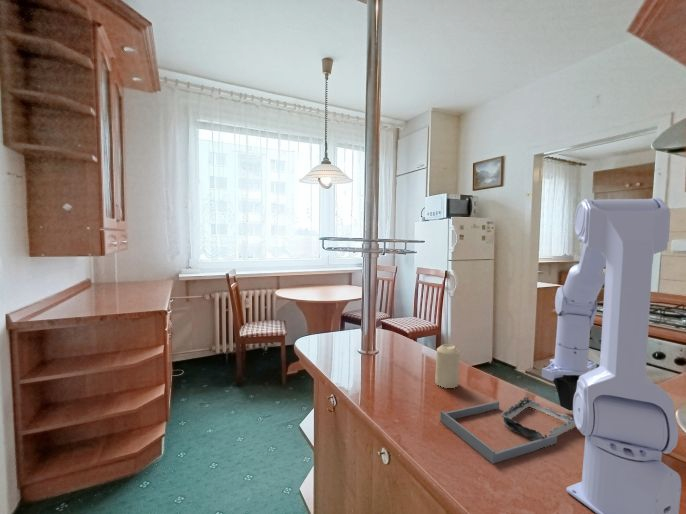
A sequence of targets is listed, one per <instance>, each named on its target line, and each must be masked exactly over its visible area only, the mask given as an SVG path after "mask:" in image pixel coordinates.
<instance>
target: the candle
mask: <svg viewBox="0 0 686 514" xmlns="http://www.w3.org/2000/svg"><path fill="white" fill-rule="evenodd" d="M460 355H461V353H460V351H459V349H458V348H457V347H456V346H455V345H454V344H449V343H444V344H442V345H440V346H439V347H437V348H436V357H435V359H436V360H435V373H434V374H435V376H434V377H435V379H434V381H435V384H436V386H438V385H439V386H438V387H440V386H441V387H440V388H443V387H444V388H443V389H447V388H454V389H456V388H455V387H457V388H458V387H459V386H458V385H459V377H460V375H459V373H460V360H461V359H460V357H461V356H460Z"/></svg>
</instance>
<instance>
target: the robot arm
mask: <svg viewBox="0 0 686 514" xmlns="http://www.w3.org/2000/svg"><path fill="white" fill-rule="evenodd" d="M670 226H671V209H670V208H669V206H668V205H667V203H665V201H663V199H661V198H659V197H652V198H629V199H628V198H623V199H622V198H618V199H616V198H615V199H610V198H609V199H590V198H585V199H582V201H581V202H579V203H578V205H577V207H576V210H575V215H574V232H575V235H576V236H577V237H578V242H580V243H583V244H582V250H581V252H580V257H579V262H578V264H577V263H576V264H575V265H573V266H571V267H570V269H569V271H568V273H567V276H566V279H565V282H564V285H560V286H559V287H557V290H556V293H555V297H554V298H555V299H554V308H555V312H556V313H555V314H557V319H556V335H555V336H556V337H555V346H554V347H555V349H554V358H550V359H549V363H550V364H549V365H547V366H545V367H543V368H541V377H542V378H543V379H546V380H548V381H551V382H553V384H554V385H555V388H556V392H557V396H558V399H559V400H558V401H559V405H560V407H562V408H564V409H566V410H568V411H573V412H572V413H573V414H572V415H573V419H574V421H575V427H576V428H577V430H578V431H579V432H580V433H581V435H582V436H585V437H584V447H583V448H584V449H583V450H584V451H583V460H582V461H583V462H582V463H583V464H582V472H581V473H582V475H581V481H580V482H576V483H574V484H572V485H569V486H567V487H566V492H567V493H568V494H570V495H571V496H572V497H574V498H575V499H577V500H578V502H580V503H582V504H584V505H585V506H586V507H588V508H589V509H590V510H591V511H593V512H595V514H679V513H680V506H681V505H680V504H681V495H682V478H681V476H680V474H679V473H678V472H677V471H675V470H674V469H672V468H671V467H670V466H668V465H666V464H665V463H664V462H662V458H663V457H662V456H663V454H667V455H668V454H670V453H671V452H672V451H673V450H674V449H676V446H677V445H678V440H679V428H678V424H677V420H676V416H675V404H674V403H675V402H674V400H673V398H671V396H670V395H669V393H667V391H665V390H664V389H663V388H662V387H661V386H659V385H658V384H656V383H655V382H654V381H653V380H651V379H650V378H648V377H647V375H646V374H647V357H648V342H649V341H648V340H649V329H650V328H649V323H650V308H651V307H650V306H651V292H652V291H651V289H652V278H653V277H652V275H653V263H654V256H655V255H656V254H658V253H659V254H660V253H661V252H664V251H667V250H668V243H669V241H670ZM604 268H605V270H604ZM604 271H605V272H604ZM603 286H604V291H603V304H602V305H603V308H602V320H601V321H602V322H601V339H600V357H599V366H598V367H597V363H596V362H593V361H590V360H589V350H590V338H591V337H590V336H591V328H593V327H594V323H595V322H594V321H595V317H596V315H597V312H598V311H597V310H598V299H597V298H598V296H599V294H600V293H601V290H602V288H603Z"/></svg>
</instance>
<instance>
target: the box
mask: <svg viewBox="0 0 686 514" xmlns="http://www.w3.org/2000/svg"><path fill="white" fill-rule="evenodd" d="M497 408H499V409H500V401H497V400H496V401H492V402H489V403H488V402H487V403H483V404H478V405H473V406H469V407H464V408H461V409H457V410H456V409H455V410H450V411H446V412H445V411H444V410H440V417H439V419H440V422H441V423H442V424H443V425H445V426H446V427H447V428H448V429H449V430H450V431H452V432H453V433H455V434H456V435H457V436H458V437H460V438H461V439H462V440H463V441H465V443H467V444H468V445H470V447H472V449H474V450H475V451H477V452H478V453H479V454H480V455H482V456H483V457H484V459H486V460H488V461H489V462H490V463H491V464H496V463H500V462H504V461H506V460H510V459H512V458H516V457H518V456H522V455H526V454H529V453H531V452H532V453H533V452H535V451H538V449H539V450H541V449H540V448H542V449H544V448H543V447H545V448H547V447H546V446H548V447H550V446H549V445H551V446H554V445H553V444H555V443H557V442H558V437H557V436H556V435H552V436H549V435H548V436H549V437H545V438H542V439H538V440H535V441H532V440H531V441H529V442H525V443H522V444H519V445H515V446H512V447H509V448H504V449H501V450H498V451H495V450H494V449H492V447H490V446H489V445H487V444H486V443H485V442H484V441H482V440H481V439H480V438H478V437H477V436H476V435H475V434H473V433H472V432H471V431H469V430H468V429H467V428H466V427H464V426H463V425H462V424H460V423H459V422H458V421H456V419H460V418H464V417H468V416H474V415H478V414H482V413H487V412H491V411H494V410H493V409H496V410H498V409H497ZM490 410H491V411H490ZM486 411H487V412H486ZM555 445H556V444H555Z"/></svg>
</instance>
